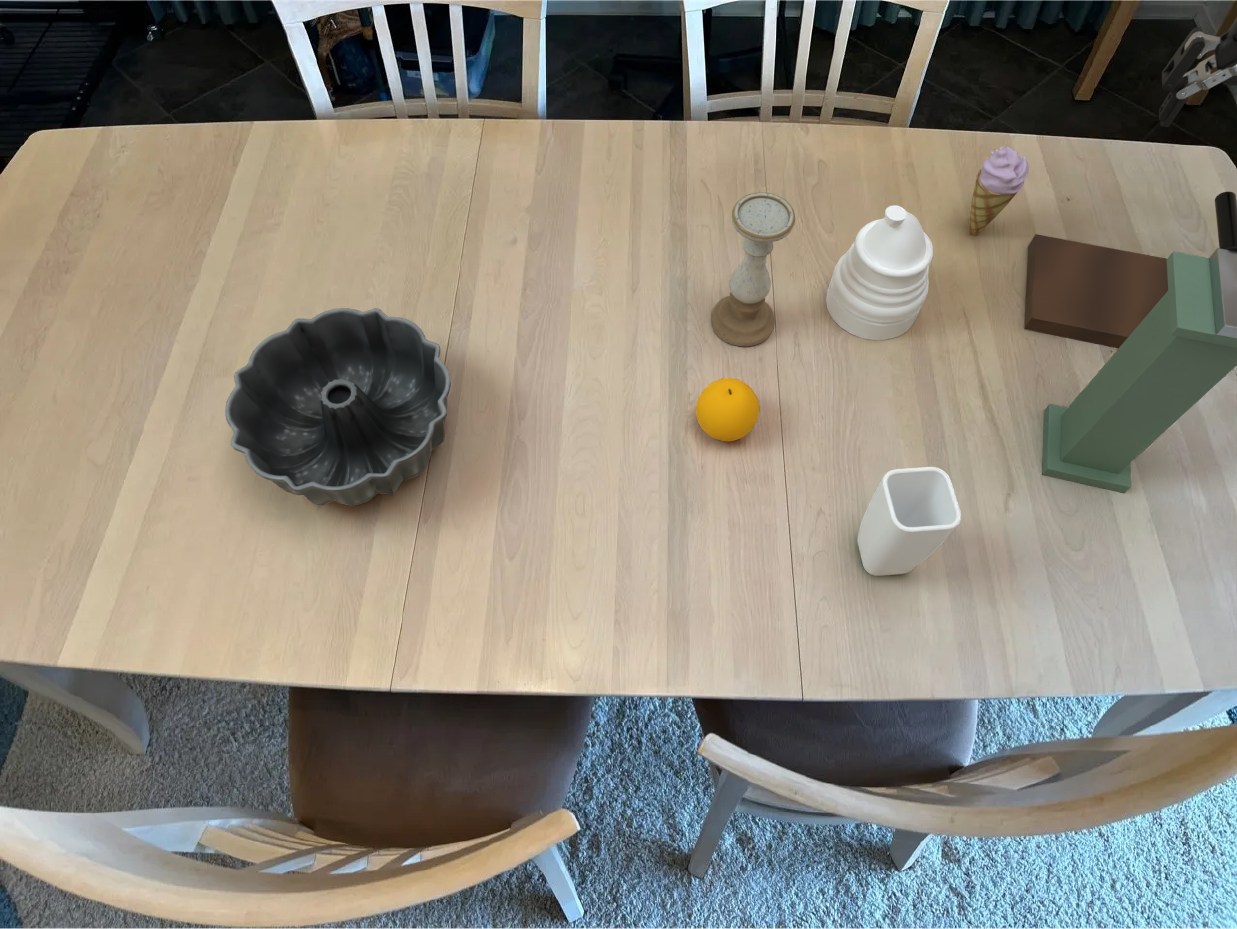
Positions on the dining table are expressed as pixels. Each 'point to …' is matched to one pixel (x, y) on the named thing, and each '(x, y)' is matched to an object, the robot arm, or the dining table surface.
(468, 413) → the dining table surface
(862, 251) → the honey pot
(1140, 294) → the cutting board
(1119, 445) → the stand
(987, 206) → the ice cream cone
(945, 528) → the cup
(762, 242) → the candle holder
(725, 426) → the orange
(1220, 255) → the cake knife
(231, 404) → the bundt pan
